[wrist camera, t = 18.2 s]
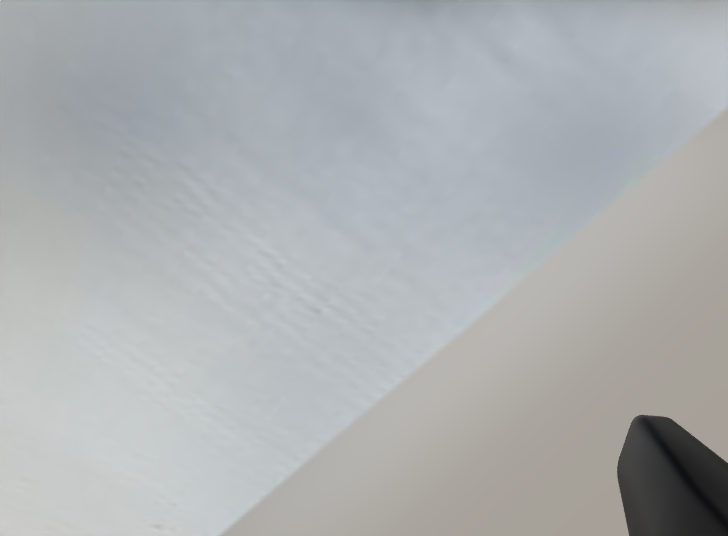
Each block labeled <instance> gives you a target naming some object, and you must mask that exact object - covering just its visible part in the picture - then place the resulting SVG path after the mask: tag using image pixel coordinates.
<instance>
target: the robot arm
mask: <svg viewBox="0 0 728 536" xmlns="http://www.w3.org/2000/svg"><path fill="white" fill-rule="evenodd" d="M617 474H618V482H619V487H620V492H621V497H622V502H623V507H624V512H625V517H626V522H627V527H628V531H629V536H728V463H727V462H726V461H724V460H723V459H722V458H721V457H719V456H718V455H717V454H715V453H714V452H713V451H712V450H710V449H709V448H708V447H707V446H705V445H704V444H703V443H701V442H700V441H699V440H698V439H696V438H695V437H694V436H692V435H691V434H690V433H689V432H687V431H686V430H685V429H684V428H682V427H681V426H680V425H678V424H677V423H676V422H674V421H673V420H672V419H670V418H667V417H661V416H648V415H639V416H637V417H635V418H634V419H633V421H632V423H631V425H630V428H629V431H628V434H627V437H626V440H625V443H624V446H623V448H622V451H621V454H620V457H619V461H618V467H617Z"/></svg>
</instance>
